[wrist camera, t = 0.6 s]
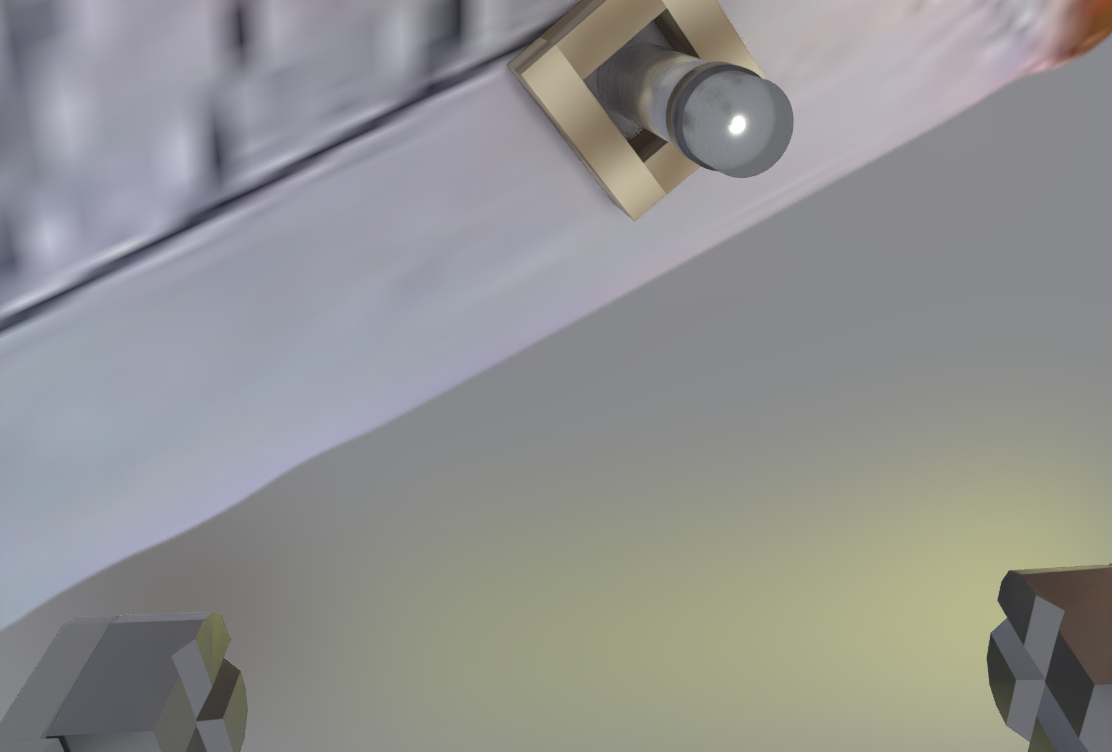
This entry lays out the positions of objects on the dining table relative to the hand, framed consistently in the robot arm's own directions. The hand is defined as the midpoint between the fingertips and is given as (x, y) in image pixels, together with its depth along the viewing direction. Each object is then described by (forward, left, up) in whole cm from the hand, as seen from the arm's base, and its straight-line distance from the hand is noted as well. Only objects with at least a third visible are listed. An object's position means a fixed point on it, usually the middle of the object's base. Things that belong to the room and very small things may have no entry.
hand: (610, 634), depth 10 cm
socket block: (-5, +13, -45) cm, 47 cm away
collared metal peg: (-5, +13, -45) cm, 47 cm away
